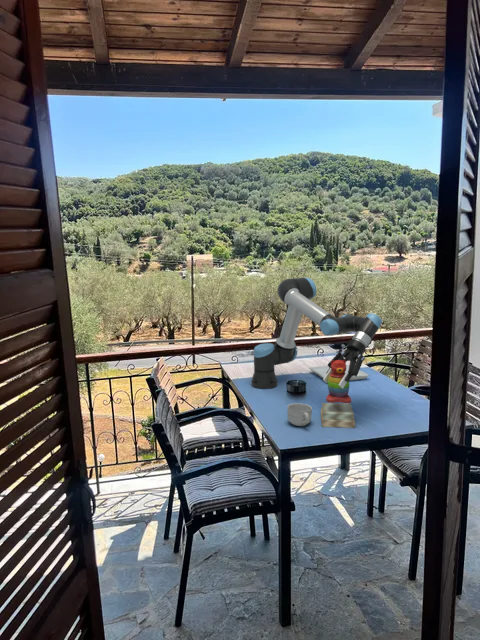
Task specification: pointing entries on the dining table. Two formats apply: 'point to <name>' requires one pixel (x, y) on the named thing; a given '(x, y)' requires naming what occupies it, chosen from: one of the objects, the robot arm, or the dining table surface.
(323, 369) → the square plate
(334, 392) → the stacking bear
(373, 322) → the robot arm
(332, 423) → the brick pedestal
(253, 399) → the dining table surface
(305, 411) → the teacup
